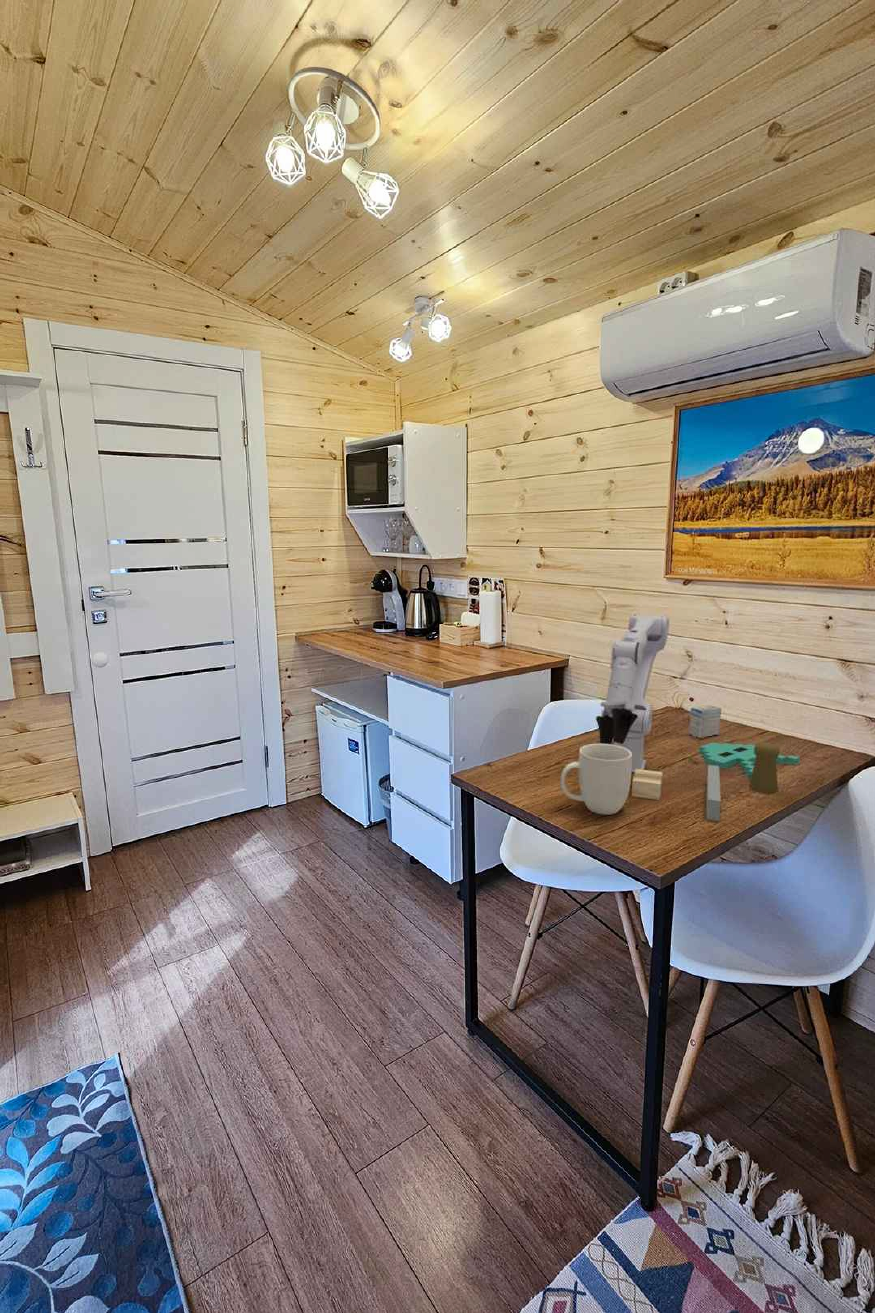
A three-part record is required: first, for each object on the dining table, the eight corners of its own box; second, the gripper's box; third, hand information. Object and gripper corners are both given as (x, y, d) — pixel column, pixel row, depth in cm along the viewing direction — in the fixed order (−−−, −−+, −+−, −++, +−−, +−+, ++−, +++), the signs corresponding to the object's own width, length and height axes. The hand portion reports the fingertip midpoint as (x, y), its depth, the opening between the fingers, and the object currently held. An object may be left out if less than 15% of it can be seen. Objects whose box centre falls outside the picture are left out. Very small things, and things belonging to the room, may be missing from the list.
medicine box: (707, 731, 190) (709, 704, 188) (719, 735, 186) (721, 707, 184) (688, 735, 186) (690, 707, 185) (700, 739, 182) (702, 711, 181)
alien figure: (798, 765, 162) (727, 745, 178) (799, 757, 161) (727, 738, 178) (756, 782, 151) (684, 759, 167) (756, 773, 150) (684, 751, 167)
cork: (744, 783, 149) (748, 739, 147) (771, 784, 148) (775, 739, 146) (754, 793, 143) (758, 747, 141) (782, 794, 142) (786, 748, 140)
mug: (565, 819, 130) (566, 760, 128) (555, 798, 141) (557, 743, 139) (636, 819, 130) (639, 760, 128) (621, 798, 141) (623, 743, 139)
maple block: (635, 784, 149) (636, 768, 149) (661, 788, 147) (662, 772, 146) (631, 797, 142) (632, 780, 141) (659, 801, 140) (660, 784, 139)
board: (706, 782, 149) (708, 764, 149) (717, 784, 149) (719, 766, 148) (706, 819, 130) (707, 799, 129) (719, 821, 129) (720, 801, 128)
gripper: (593, 690, 153) (583, 743, 149) (617, 677, 139) (607, 736, 136) (620, 698, 154) (611, 751, 150) (647, 686, 140) (638, 744, 136)
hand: (611, 744), depth 143 cm, fingers open, 7 cm apart
